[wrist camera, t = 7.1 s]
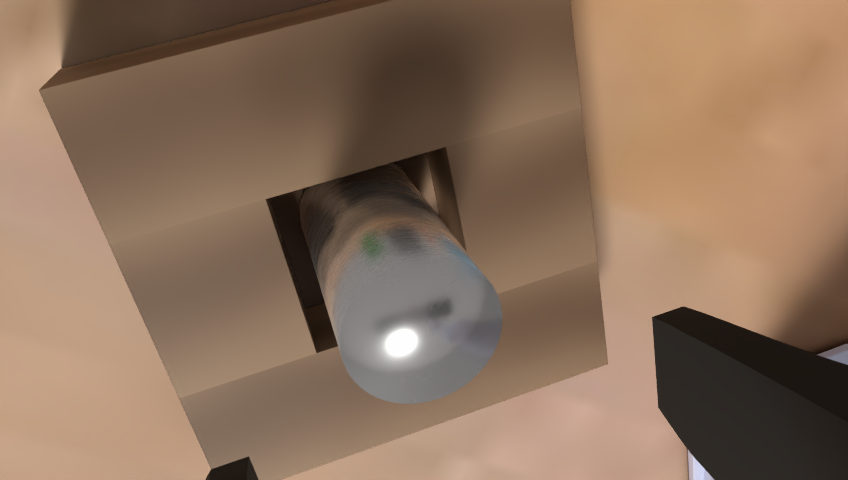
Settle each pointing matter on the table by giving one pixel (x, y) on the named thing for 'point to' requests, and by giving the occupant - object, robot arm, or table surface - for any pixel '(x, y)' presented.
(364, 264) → the long pin
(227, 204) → the socket block
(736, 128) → the table surface
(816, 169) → the table surface
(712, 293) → the table surface
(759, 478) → the robot arm
